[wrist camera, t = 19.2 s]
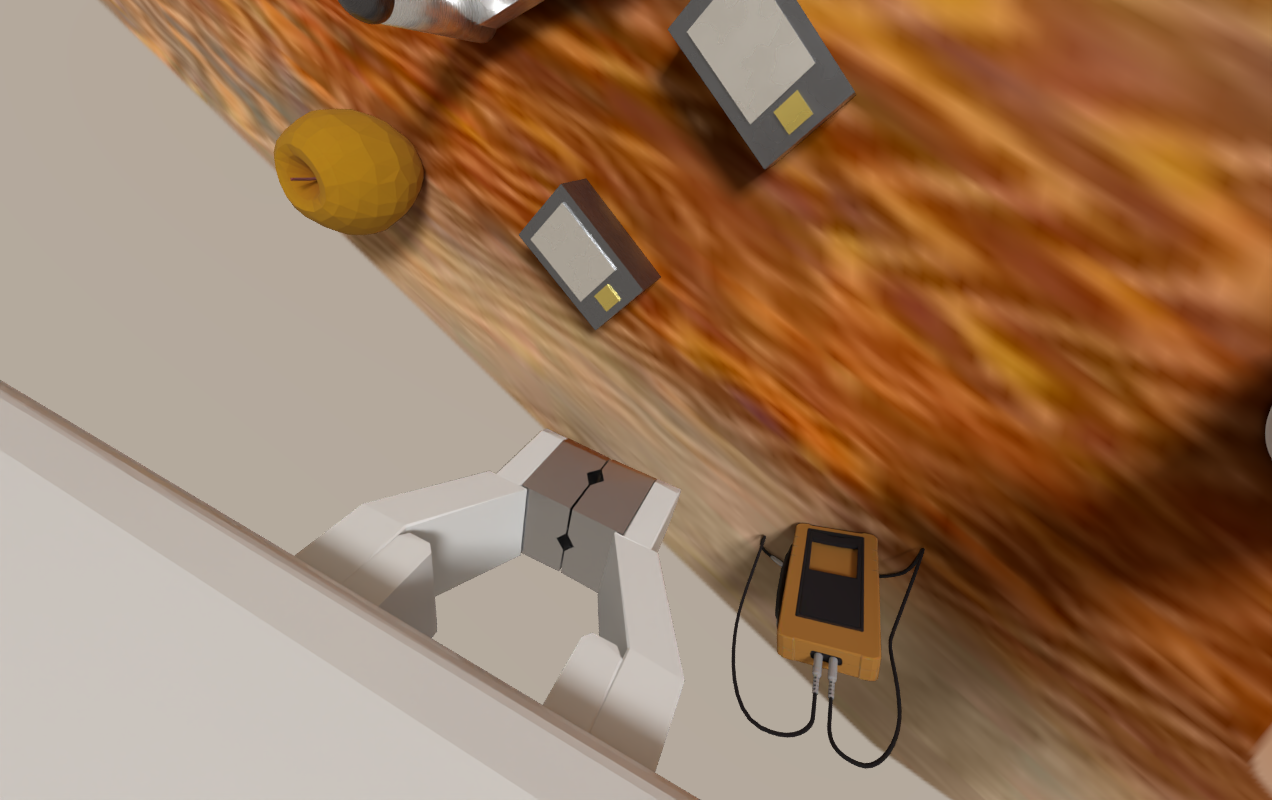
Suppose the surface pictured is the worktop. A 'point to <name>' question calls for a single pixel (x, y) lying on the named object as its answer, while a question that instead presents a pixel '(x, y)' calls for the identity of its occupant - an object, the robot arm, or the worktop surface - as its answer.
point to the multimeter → (830, 613)
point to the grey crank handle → (441, 15)
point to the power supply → (588, 252)
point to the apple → (348, 170)
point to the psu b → (763, 69)
